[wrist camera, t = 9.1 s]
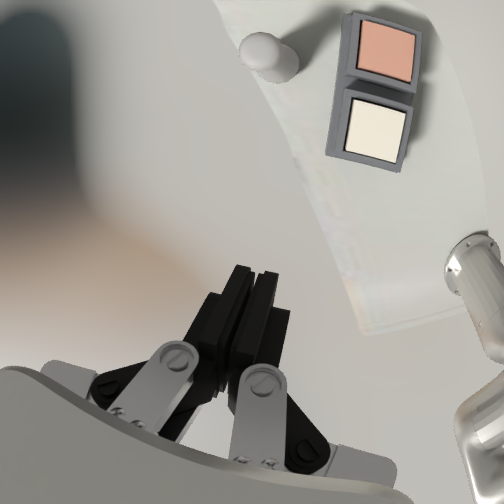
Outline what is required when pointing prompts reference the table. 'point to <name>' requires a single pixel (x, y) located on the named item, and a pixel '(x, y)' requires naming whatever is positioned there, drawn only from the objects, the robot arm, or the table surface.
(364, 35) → the terracotta key
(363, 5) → the table surface
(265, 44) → the salt shaker
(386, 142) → the ivory key
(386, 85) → the key panel
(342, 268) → the table surface
